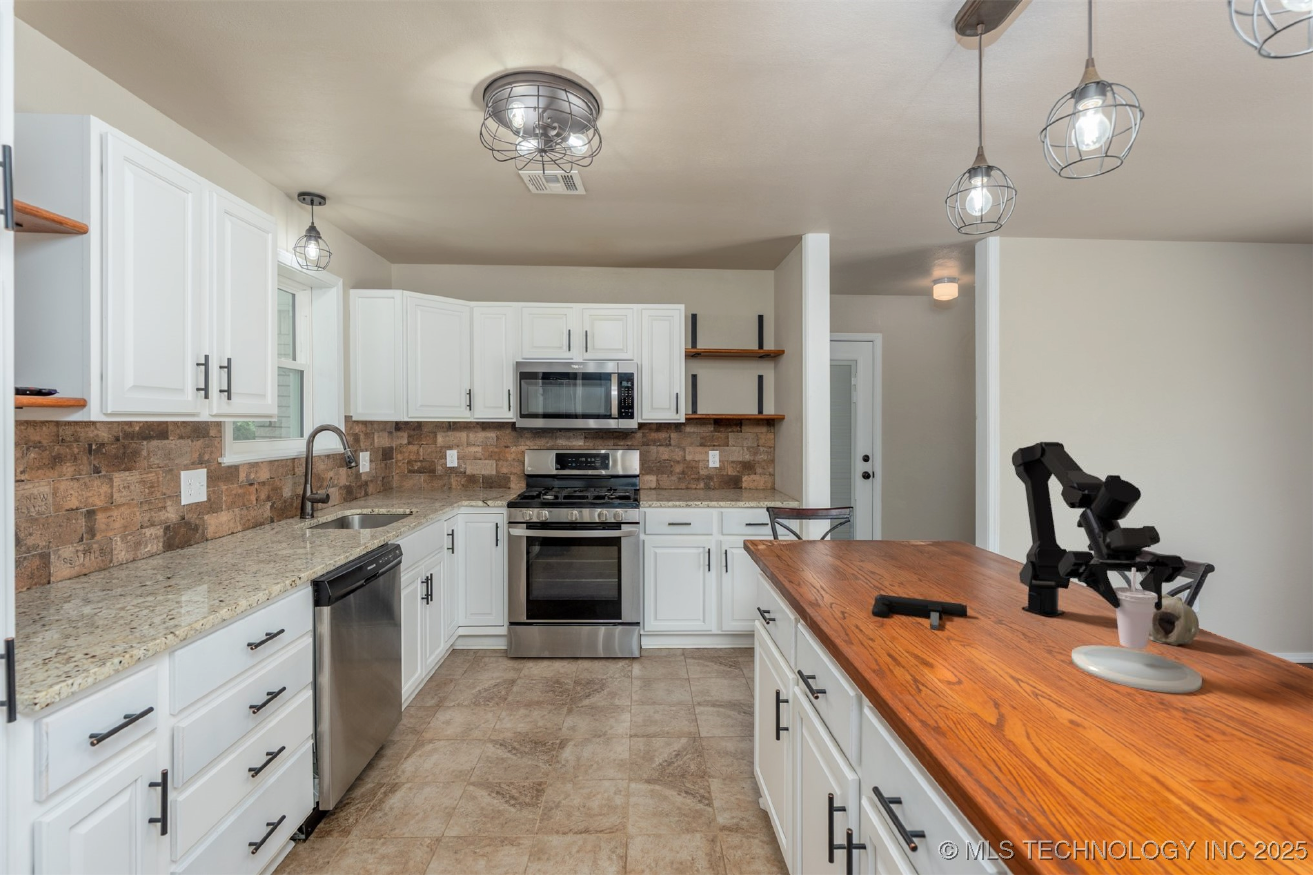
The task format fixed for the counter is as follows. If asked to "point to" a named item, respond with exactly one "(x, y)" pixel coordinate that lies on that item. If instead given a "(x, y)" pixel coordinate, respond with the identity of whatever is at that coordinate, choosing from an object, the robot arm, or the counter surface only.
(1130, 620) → the smoothie
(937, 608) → the door handle
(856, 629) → the counter surface
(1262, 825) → the counter surface
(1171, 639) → the olive hollow round lump
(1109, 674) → the plate
